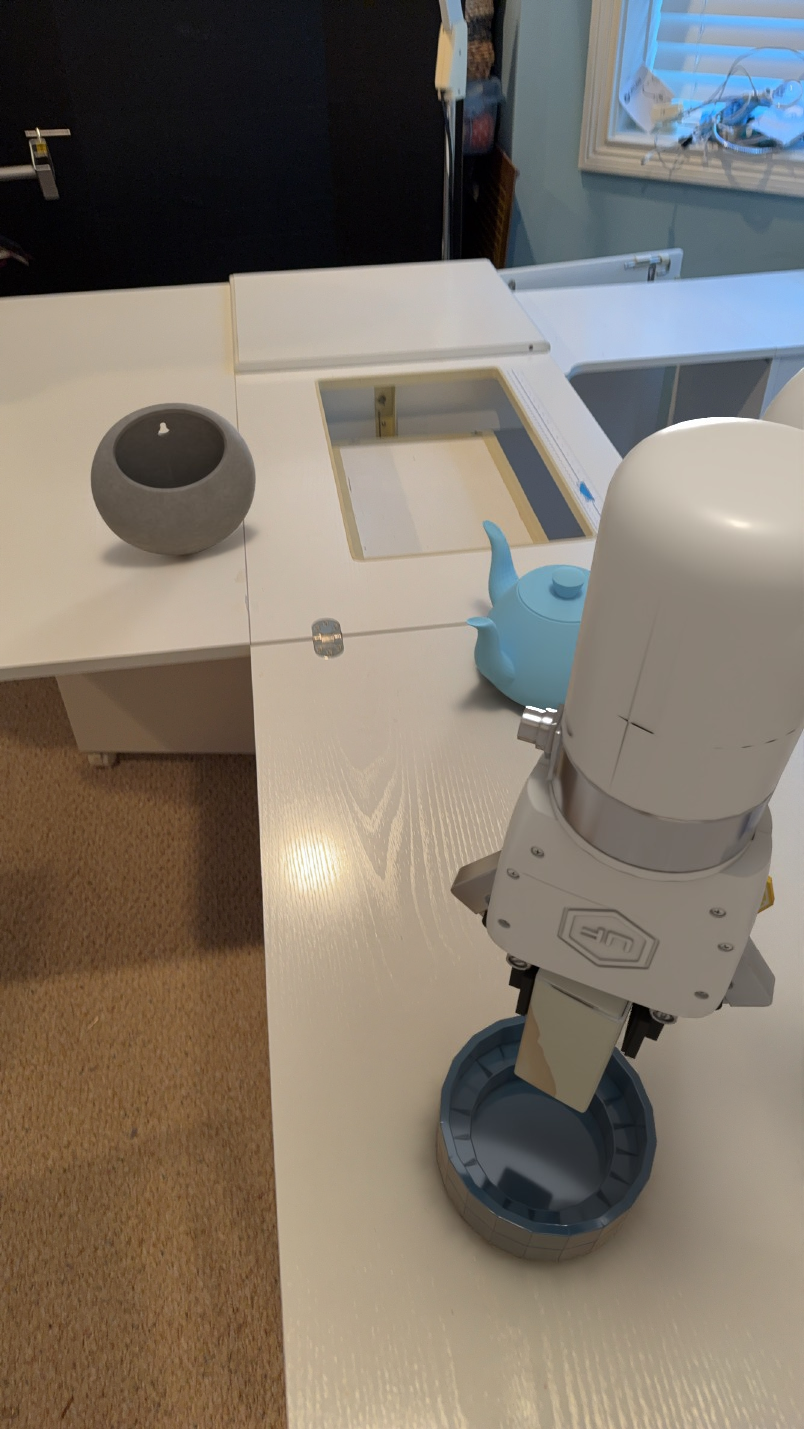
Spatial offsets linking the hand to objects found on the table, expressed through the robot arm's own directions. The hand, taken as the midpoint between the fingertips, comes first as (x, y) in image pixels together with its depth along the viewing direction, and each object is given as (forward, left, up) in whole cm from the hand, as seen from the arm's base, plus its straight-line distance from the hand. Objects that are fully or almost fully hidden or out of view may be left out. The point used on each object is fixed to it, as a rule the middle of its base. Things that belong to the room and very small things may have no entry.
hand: (581, 1008), depth 44 cm
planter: (+59, -50, -20) cm, 80 cm away
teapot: (+13, -46, -20) cm, 52 cm away
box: (0, 0, -6) cm, 6 cm away
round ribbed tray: (0, 0, -20) cm, 20 cm away
